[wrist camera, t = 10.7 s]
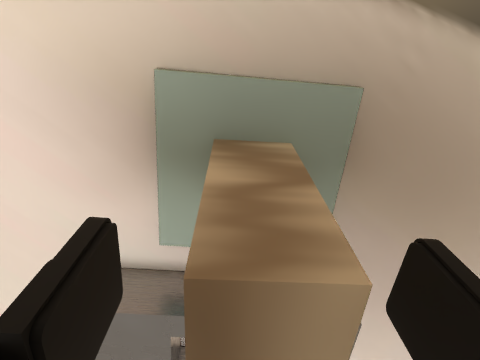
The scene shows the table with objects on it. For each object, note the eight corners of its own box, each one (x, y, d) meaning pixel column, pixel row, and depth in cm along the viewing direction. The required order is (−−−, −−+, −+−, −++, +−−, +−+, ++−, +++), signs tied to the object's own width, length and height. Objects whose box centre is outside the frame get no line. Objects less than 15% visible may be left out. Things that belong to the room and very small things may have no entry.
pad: (359, 86, 15) (363, 88, 14) (319, 248, 19) (322, 254, 18) (157, 68, 14) (154, 69, 14) (161, 239, 18) (159, 244, 18)
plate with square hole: (341, 280, 20) (361, 324, 17) (315, 366, 24) (328, 416, 21) (100, 266, 19) (73, 310, 16) (112, 358, 23) (93, 408, 20)
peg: (291, 143, 15) (372, 285, 6) (282, 210, 17) (336, 398, 8) (214, 138, 15) (183, 278, 6) (212, 206, 17) (186, 395, 8)
